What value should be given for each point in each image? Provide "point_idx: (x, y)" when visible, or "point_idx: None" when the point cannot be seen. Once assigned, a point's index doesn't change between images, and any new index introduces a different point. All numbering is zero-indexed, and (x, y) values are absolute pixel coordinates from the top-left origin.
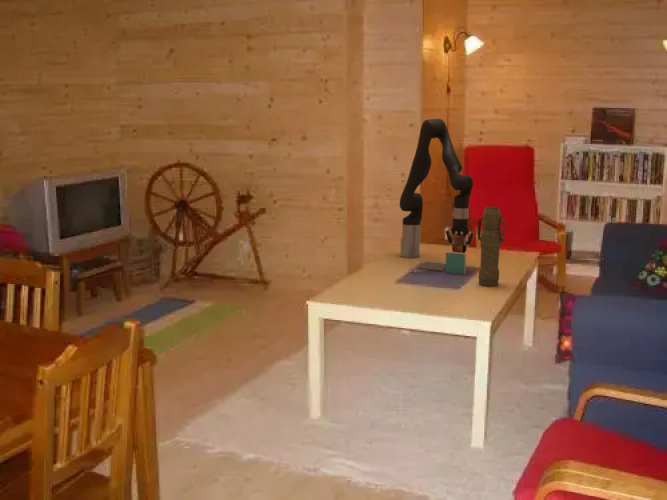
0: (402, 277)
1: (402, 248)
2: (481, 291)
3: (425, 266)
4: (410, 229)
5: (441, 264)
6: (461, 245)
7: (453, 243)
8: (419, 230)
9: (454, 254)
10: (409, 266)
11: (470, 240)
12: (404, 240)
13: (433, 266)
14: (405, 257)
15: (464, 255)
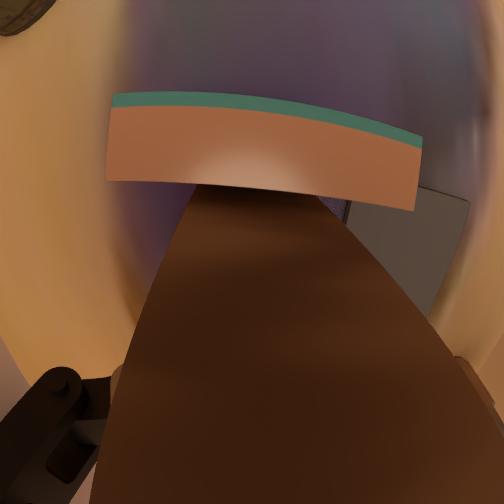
0: (487, 16)
1: (477, 380)
2: None
3: (439, 241)
4: None
5: None
6: (160, 268)
7: (405, 300)
8: None
9: (292, 104)
10: (485, 238)
11: (7, 422)
12: (490, 401)
13: (402, 256)
14: (459, 357)
15: (118, 95)
